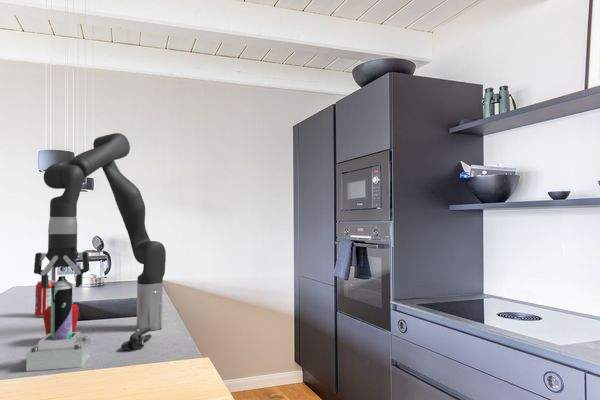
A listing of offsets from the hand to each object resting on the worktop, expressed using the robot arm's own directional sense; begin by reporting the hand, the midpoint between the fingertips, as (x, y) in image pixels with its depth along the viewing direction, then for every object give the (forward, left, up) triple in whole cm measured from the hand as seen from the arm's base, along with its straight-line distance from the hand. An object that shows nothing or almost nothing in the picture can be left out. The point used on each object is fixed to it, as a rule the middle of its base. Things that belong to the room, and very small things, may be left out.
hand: (61, 287), depth 131 cm
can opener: (-21, -14, -22) cm, 33 cm away
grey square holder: (0, 0, -22) cm, 22 cm away
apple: (+6, -25, -22) cm, 34 cm away
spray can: (0, 0, -17) cm, 17 cm away
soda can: (+23, -71, -22) cm, 77 cm away
